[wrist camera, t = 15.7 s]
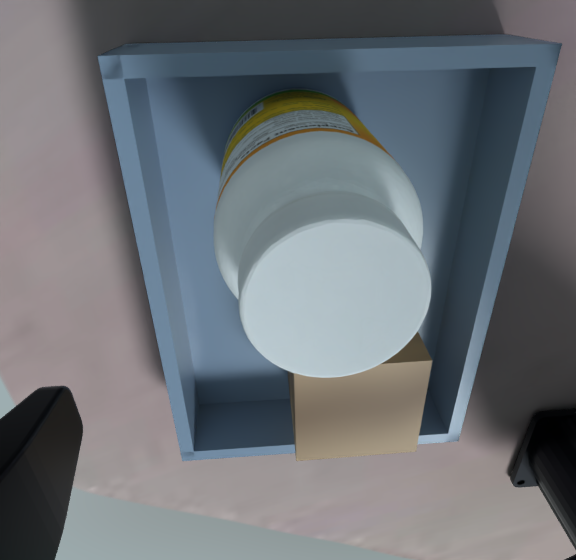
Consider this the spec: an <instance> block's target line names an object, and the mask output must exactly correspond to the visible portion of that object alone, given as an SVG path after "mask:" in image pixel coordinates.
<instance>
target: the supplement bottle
mask: <svg viewBox="0 0 576 560" xmlns="http://www.w3.org/2000/svg"><path fill="white" fill-rule="evenodd" d="M422 238H423V216H422V210H421V205H420V201H419V199H418V196H417V193H416V191H415V189H414V187H413V185H412V183H411V181H410V180H409V178H408V177H407V175H406V174H405V172H404V171H403V169H402V168H401V167H400V165H399V164H398V163H397V162H396V161H395V159H394V158H393V157H392V156H391V155H390V154H389V153H388V152H387V151H386V149H385V148H384V147H383V146H382V145H381V144H380V143H379V142H378V140H377V139H376V138H375V137H374V136H373V135H372V134H371V133H370V132H369V130H368V129H367V128H366V127H365V126H364V125H363V123H362V122H361V121H360V120H359V119H358V118H357V117H356V115H355V114H354V113H353V112H352V111H351V110H350V109H349V108H347V107H346V106H345V105H344V104H343V103H341V102H340V101H339V100H337V99H335V98H334V97H332V96H330V95H328V94H325V93H323V92H320V91H316V90H311V89H303V88H291V89H284V90H280V91H276V92H273V93H271V94H268V95H266V96H264V97H263V98H261V99H259V100H258V101H256V102H255V103H253V104H252V105H251V106H250V107H249V108H248V109H246V110H245V111H244V112H243V114H242V115H241V116H240V117H239V118H238V120H237V121H236V123H235V125H234V126H233V128H232V130H231V132H230V135H229V137H228V140H227V143H226V146H225V151H224V156H223V163H222V169H221V177H220V184H219V191H218V198H217V204H216V211H215V217H214V249H215V255H216V260H217V263H218V266H219V269H220V272H221V274H222V277H223V279H224V280H225V282H226V284H227V286H228V287H229V289H230V290H231V292H232V293H233V294H234V295H235V297H236V298H237V299H238V301H239V314H240V319H241V322H242V325H243V328H244V331H245V333H246V335H247V337H248V339H249V340H250V342H251V343H252V344H253V346H254V347H255V348H256V349H257V351H258V352H259V353H261V354H262V355H263V356H264V357H265V358H266V359H268V360H269V361H270V362H272V363H273V364H275V365H277V366H278V367H280V368H283V369H285V370H287V371H290V372H292V373H296V374H300V375H304V376H309V377H320V378H332V377H343V376H348V375H353V374H356V373H360V372H363V371H366V370H369V369H371V368H373V367H376V366H378V365H379V364H381V363H383V362H385V361H386V360H388V359H390V358H391V357H392V356H394V355H395V354H397V353H398V352H399V351H400V350H401V349H402V348H404V347H405V345H406V344H407V343H408V342H409V341H410V340H411V339H412V338H413V337H414V335H415V334H416V333H417V331H418V330H419V328H420V326H421V324H422V322H423V320H424V318H425V316H426V314H427V311H428V308H429V303H430V299H431V277H430V272H429V269H428V266H427V263H426V260H425V258H424V256H423V254H422V252H421V250H420V249H421V245H422Z"/></svg>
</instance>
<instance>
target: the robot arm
mask: <svg viewBox="0 0 576 560" xmlns="http://www.w3.org/2000/svg"><path fill="white" fill-rule="evenodd" d="M82 435H83V425H82V420H81V417H80V415H79V412H78V409H77V406H76V403H75V401H74V398H73V395H72V393H71V391H70V389H69V388H68V387H66V386H51V387H42V388H39V389H37V390H35V391H34V392H33V393H32V394H30V395H29V396H28V397H27V398H25V399H24V400H23V401H22V402H21V403H19V404H18V405H17V406H16V407H14V408H13V409H12V410H11V411H10V412H8V413H7V414H6V415H5V416H3V417H2V418H1V419H0V560H55V557H56V553H57V550H58V547H59V543H60V540H61V536H62V533H63V529H64V524H65V520H66V516H67V511H68V505H69V501H70V496H71V490H72V486H73V481H74V476H75V471H76V466H77V461H78V456H79V451H80V446H81V441H82ZM510 480H511V482H512V484H513V485H514V486H515V487H530V486H539V488H540V490H541V492H542V493H543V495H544V497H545V498H546V500H547V502H548V503H549V505H550V507H551V509H552V510H553V512H554V514H555V515H556V517H557V519H558V521H559V522H560V524H561V526H562V527H563V529H564V531H565V532H566V534H567V536H568V538H569V539H570V541H571V543H572V544H573V546H574V548H575V550H576V409H568V410H554V411H542V412H539V413H536V414H535V415H534V416H533V418H532V420H531V423H530V426H529V428H528V431H527V434H526V437H525V439H524V442H523V445H522V447H521V450H520V453H519V455H518V458H517V461H516V464H515V466H514V469H513V472H512V474H511V477H510ZM565 560H576V554H575V555H573V556H571V557H569V558H567V559H565Z"/></svg>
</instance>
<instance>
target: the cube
mask: <svg viewBox="0 0 576 560" xmlns="http://www.w3.org/2000/svg"><path fill="white" fill-rule="evenodd" d="M431 366H432V359H431V357H430V355H429V353H428V351H427V349H426V347H425V345H424V343H423V341H422V339H421V337H420V335H419V333H418V331H417V333H416V334H415V335H414V337H413V338H412V339H411V340H410V341H409V342H408V343H407V344H406V345H405V347H404V348H402V349H401V350H400V351H399V352H398V353H397V354H395V355H394V356H392V357H391V358H390V359H388V360H386V361H385V362H383V363H381V364H379V365H378V366H376V367H373V368H371V369H369V370H366V371H363V372H360V373H356V374H353V375H348V376H343V377H332V378H320V377H309V376H304V375H300V374H296V373H292V372H290V371H288V384H289V394H290V404H291V413H292V423H293V433H294V443H295V453H296V461H303V460H316V459H329V458H342V457H354V456H367V455H380V454H393V453H405V452H416V449H417V443H418V438H419V432H420V427H421V421H422V416H423V410H424V404H425V399H426V393H427V388H428V382H429V377H430V371H431Z"/></svg>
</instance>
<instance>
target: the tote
mask: <svg viewBox="0 0 576 560" xmlns="http://www.w3.org/2000/svg"><path fill="white" fill-rule="evenodd" d="M561 46H562V43H556V42H550V41H544V40H538V39H532V38H526V37H519V36H513V35H507V34H494V35H455V36H415V37H376V38H336V39H297V40H258V41H218V42H179V43H139V44H124V45H122V46H120V47H117V48H115V49H113V50H110V51H108V52H105V53H103V54H101V55H98V61H99V65H100V70H101V75H102V80H103V85H104V89H105V94H106V99H107V104H108V108H109V113H110V118H111V123H112V127H113V132H114V137H115V142H116V147H117V151H118V156H119V161H120V166H121V170H122V175H123V180H124V185H125V189H126V194H127V199H128V204H129V209H130V213H131V218H132V223H133V228H134V232H135V237H136V242H137V247H138V251H139V256H140V261H141V266H142V271H143V275H144V280H145V285H146V290H147V294H148V299H149V304H150V309H151V313H152V318H153V323H154V328H155V333H156V337H157V342H158V347H159V352H160V356H161V361H162V366H163V371H164V375H165V380H166V385H167V390H168V394H169V399H170V404H171V409H172V414H173V418H174V423H175V428H176V433H177V437H178V442H179V447H180V452H181V456H182V461H189V460H203V459H217V458H231V457H245V456H259V455H273V454H287V453H295V443H294V433H293V423H292V413H291V404H290V394H289V384H288V371H287V370H285V369H283V368H280V367H278V366H277V365H275V364H273V363H272V362H270V361H269V360H268V359H266V358H265V357H264V356H263V355H262V354H261V353H259V352H258V351H257V349H256V348H255V347H254V346H253V344H252V343H251V342H250V340H249V339H248V337H247V335H246V333H245V331H244V328H243V325H242V322H241V319H240V314H239V301H238V299H237V298H236V297H235V295H234V294H233V293H232V292H231V290H230V289H229V287H228V286H227V284H226V282H225V280H224V279H223V277H222V274H221V272H220V269H219V266H218V263H217V260H216V255H215V249H214V217H215V211H216V204H217V198H218V191H219V184H220V177H221V169H222V163H223V156H224V151H225V146H226V143H227V140H228V137H229V135H230V132H231V130H232V128H233V126H234V125H235V123H236V121H237V120H238V118H239V117H240V116H241V115H242V114H243V112H244V111H245V110H246V109H248V108H249V107H250V106H251V105H252V104H253V103H255V102H256V101H258V100H259V99H261V98H263V97H264V96H266V95H268V94H271V93H273V92H276V91H280V90H284V89H291V88H303V89H311V90H316V91H320V92H323V93H325V94H328V95H330V96H332V97H334V98H335V99H337V100H339V101H340V102H341V103H343V104H344V105H345V106H346V107H347V108H349V109H350V110H351V111H352V112H353V113H354V114H355V115H356V117H357V118H358V119H359V120H360V121H361V122H362V123H363V125H364V126H365V127H366V128H367V129H368V130H369V132H370V133H371V134H372V135H373V136H374V137H375V138H376V139H377V140H378V142H379V143H380V144H381V145H382V146H383V147H384V148H385V149H386V151H387V152H388V153H389V154H390V155H391V156H392V157H393V158H394V159H395V161H396V162H397V163H398V164H399V165H400V167H401V168H402V169H403V171H404V172H405V174H406V175H407V177H408V178H409V180H410V181H411V183H412V185H413V187H414V189H415V191H416V193H417V196H418V199H419V201H420V205H421V210H422V216H423V238H422V245H421V249H420V250H421V252H422V254H423V256H424V258H425V260H426V263H427V266H428V269H429V272H430V277H431V299H430V303H429V308H428V311H427V314H426V316H425V318H424V320H423V322H422V324H421V326H420V328H419V330H418V333H419V335H420V337H421V339H422V341H423V343H424V345H425V347H426V349H427V351H428V353H429V355H430V357H431V359H432V366H431V371H430V377H429V382H428V388H427V393H426V399H425V404H424V410H423V416H422V421H421V427H420V432H419V438H418V443H417V444H426V443H440V442H454V441H458V440H459V437H460V433H461V429H462V425H463V421H464V417H465V414H466V410H467V406H468V402H469V398H470V394H471V391H472V387H473V383H474V379H475V375H476V371H477V368H478V364H479V360H480V356H481V352H482V348H483V345H484V341H485V337H486V333H487V329H488V325H489V322H490V318H491V314H492V310H493V306H494V302H495V299H496V295H497V291H498V287H499V283H500V279H501V276H502V272H503V268H504V264H505V260H506V256H507V253H508V249H509V245H510V241H511V237H512V233H513V230H514V226H515V222H516V218H517V214H518V210H519V207H520V203H521V199H522V195H523V191H524V187H525V184H526V180H527V176H528V172H529V168H530V164H531V161H532V157H533V153H534V149H535V145H536V141H537V138H538V134H539V130H540V126H541V122H542V118H543V115H544V111H545V107H546V103H547V99H548V95H549V92H550V88H551V84H552V80H553V76H554V72H555V69H556V65H557V61H558V57H559V53H560V49H561Z"/></svg>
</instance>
